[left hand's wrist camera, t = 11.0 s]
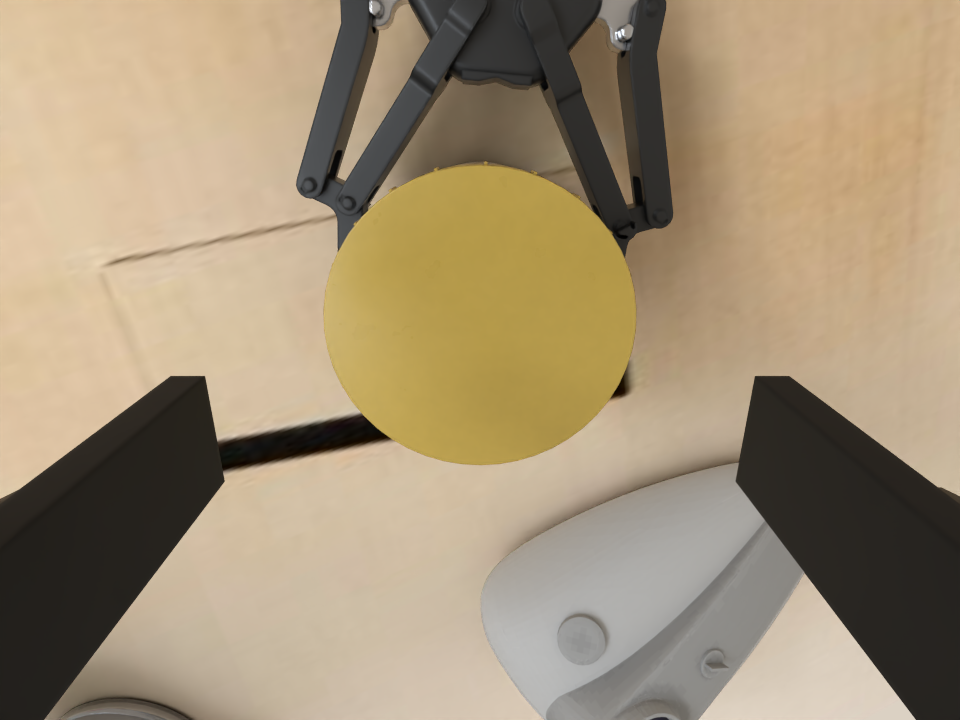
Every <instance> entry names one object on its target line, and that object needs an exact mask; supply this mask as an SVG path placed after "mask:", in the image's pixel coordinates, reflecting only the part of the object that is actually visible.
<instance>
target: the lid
mask: <svg viewBox="0 0 960 720" xmlns="http://www.w3.org/2000/svg"><path fill="white" fill-rule="evenodd" d="M389 192H390V193H389V194H387V195H386V196H385V197H383V198H382V199H381V200H379V201H378V202H377V203H375V204H374V205H373V206H372V207H371V208H370V209H369V210H368V211H367V212H366V213H365V214H364V215H363V216H362V217H361V218H360V220H358V221H356V222H355V223H354V224H353V225H354V227H353V229H352V230H351V231H350V232H349V234H348V235H347V237H346V239H345V241H344V242H343V244H342V246H341V248H340V249H339V251H338V253H337V256H336V258H335V261H334V263H333V264H332V268H331V271H330V275H329V279H328V283H327V287H326V291H325V301H324V331H325V337H326V343H327V349H328V352H329V355H330V358H331V361H332V365H333V368H334V370H335V372H336V374H337V376H338V378H339V381H340V383H341V385H342V386H343V388H344V390H345V391H346V393H347V394H348V396H349V397H350V399H351V401H352V402H353V403H354V404H355V406H356V407H357V408H358V409H359V410H360V412H361V413H362V414H363V415H364V416H365V417H366V418H367V419H368V420H369V421H370V422H371V423H372V424H373V425H374V426H375V427H377V428H378V429H379V430H380V431H382V432H383V433H384V434H386V435H387V436H388V437H390V438H391V439H393V440H394V441H396V442H398V443H400V444H401V445H403V446H405V447H407V448H409V449H411V450H413V451H416V452H418V453H420V454H423V455H425V456H428V457H432V458H435V459H439V460H442V461H447V462H453V463H458V464H470V465H490V464H502V463H507V462H513V461H518V460H522V459H525V458H528V457H532V456H535V455H537V454H540V453H542V452H544V451H547V450H549V449H551V448H553V447H555V446H557V445H559V444H560V443H562V442H564V441H566V440H567V439H569V438H570V437H572V436H573V435H574V434H576V433H577V432H578V431H580V430H581V429H582V428H584V427H585V426H586V425H587V424H588V423H589V422H590V421H591V420H592V419H593V418H594V417H595V416H596V415H597V414H598V413H599V412H600V410H601V409H602V408H603V407H604V406H605V404H606V403H607V402H608V401H609V399H610V398H611V396H612V394H613V393H614V391H615V390H616V388H617V386H618V385H619V383H620V381H621V379H622V376H623V374H624V372H625V370H626V368H627V365H628V362H629V358H630V355H631V352H632V349H633V343H634V337H635V331H636V301H635V291H634V287H633V283H632V279H631V274H630V271H629V268H628V265H627V263H626V261H625V258H624V256H623V253H622V251H621V249H620V247H619V246H618V244H617V242H616V241H615V239H614V237H613V235H612V234H613V233H612V231H610V230H609V229H608V228H607V227H606V226H605V225H604V223H603V222H602V221H601V220H600V218H599V217H598V216H597V215H596V214H595V213H594V212H593V211H592V210H591V209H590V208H589V207H588V206H587V205H586V204H584V203H583V202H582V201H581V200H580V198H581V197H580V196H578V195H576V194H574V193H573V194H571V193H570V192H568V191H567V190H566V189H564V188H562V187H560V186H558V185H556V184H555V183H553V182H551V181H549V180H547V179H545V178H543V177H541V176H539V175H537V172H535V171H533V170H531V173H530V172H528V171H525V170H522V169H518V168H513V167H508V166H503V165H495V164H488V162H487V161H484V164H480V163H479V164H465V165H456V166H452V167H447V168H442V169H440V168H439V167H436V168H434V171H432V172H430V173H427V174H424V175H421V176H419V177H417V178H415V179H413V180H411V181H409V182H407V183H406V184H404V185H402V186H400V187H398V188H396V187H394V188H392V189H390V190H389Z"/></svg>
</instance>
